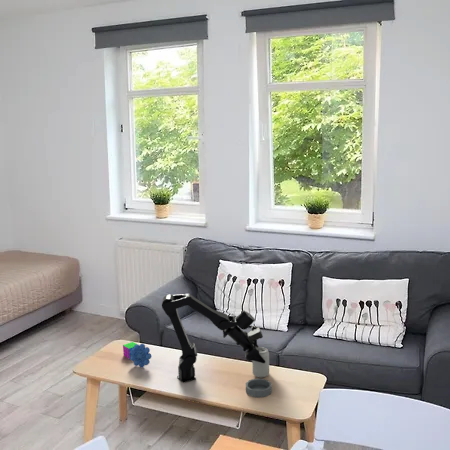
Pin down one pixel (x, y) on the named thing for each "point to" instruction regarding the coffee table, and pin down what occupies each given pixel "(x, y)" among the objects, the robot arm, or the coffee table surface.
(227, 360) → the coffee table surface
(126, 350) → the puzzle toy
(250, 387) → the ring holder
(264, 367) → the can
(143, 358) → the grapes
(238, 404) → the coffee table surface
